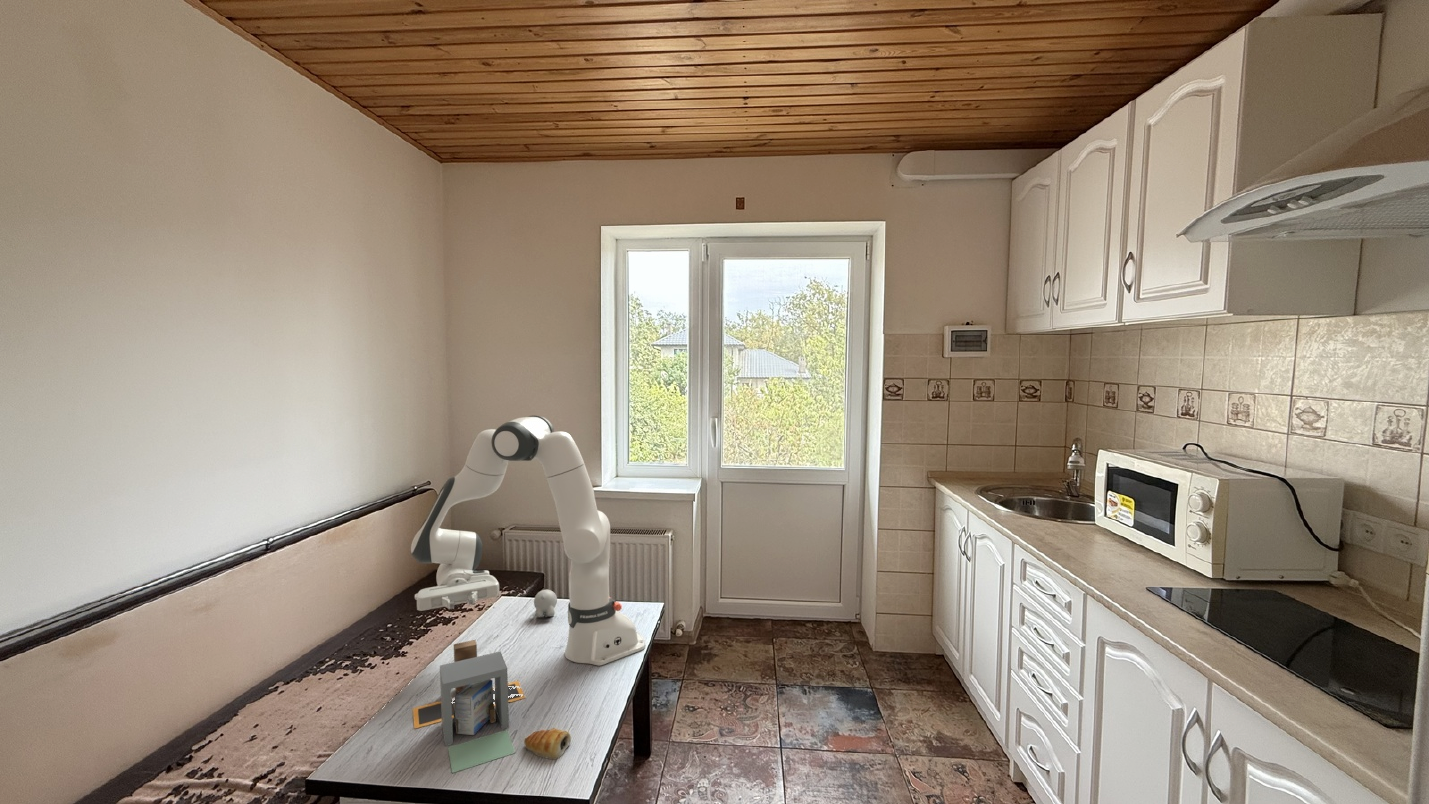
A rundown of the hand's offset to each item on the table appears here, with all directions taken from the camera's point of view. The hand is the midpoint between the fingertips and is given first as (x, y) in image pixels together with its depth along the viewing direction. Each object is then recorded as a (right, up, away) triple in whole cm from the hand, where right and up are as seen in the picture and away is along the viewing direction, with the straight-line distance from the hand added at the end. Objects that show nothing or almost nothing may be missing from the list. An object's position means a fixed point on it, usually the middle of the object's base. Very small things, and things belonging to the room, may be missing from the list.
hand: (461, 603), depth 148 cm
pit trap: (+6, -20, -10) cm, 24 cm away
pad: (+16, -21, -27) cm, 38 cm away
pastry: (+30, -21, -27) cm, 46 cm away
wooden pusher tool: (+7, -20, -12) cm, 24 cm away
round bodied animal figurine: (+10, -18, +41) cm, 46 cm away
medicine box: (+11, -21, -19) cm, 30 cm away
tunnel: (+11, -21, -19) cm, 30 cm away
